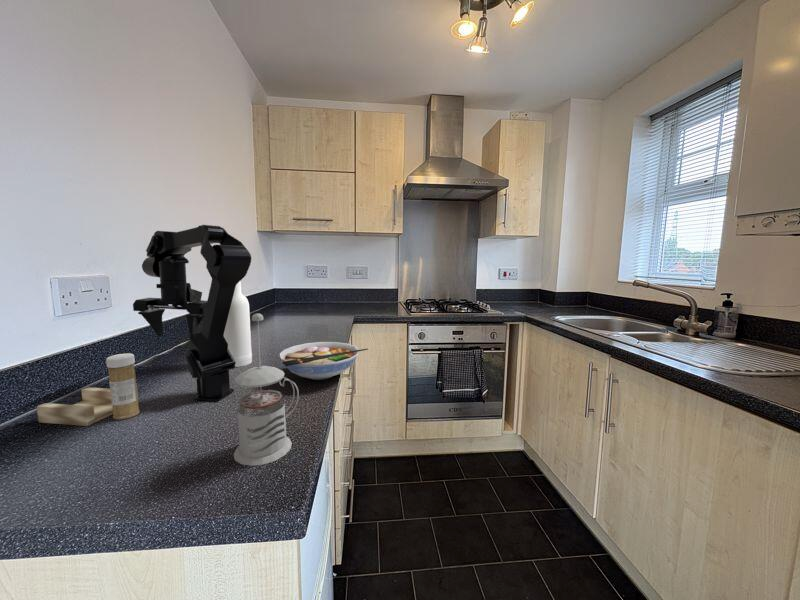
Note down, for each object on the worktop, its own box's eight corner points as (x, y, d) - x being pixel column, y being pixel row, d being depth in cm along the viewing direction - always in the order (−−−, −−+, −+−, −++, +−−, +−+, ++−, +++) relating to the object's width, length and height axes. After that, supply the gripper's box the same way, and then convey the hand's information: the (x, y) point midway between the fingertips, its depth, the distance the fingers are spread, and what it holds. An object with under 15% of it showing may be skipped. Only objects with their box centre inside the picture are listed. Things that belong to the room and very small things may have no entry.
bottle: (251, 365, 103) (246, 272, 99) (223, 368, 100) (217, 272, 97) (252, 358, 111) (248, 271, 107) (226, 361, 108) (221, 271, 104)
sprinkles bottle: (141, 408, 73) (136, 351, 72) (137, 417, 69) (131, 357, 68) (115, 413, 71) (109, 354, 69) (109, 422, 67) (102, 360, 65)
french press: (225, 447, 59) (217, 313, 56) (286, 425, 67) (282, 306, 64) (245, 473, 52) (236, 321, 49) (310, 445, 60) (307, 312, 57)
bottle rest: (133, 404, 76) (131, 390, 75) (87, 426, 66) (85, 409, 65) (89, 401, 77) (88, 387, 76) (38, 422, 67) (36, 406, 67)
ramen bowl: (341, 358, 112) (341, 335, 111) (377, 378, 94) (377, 351, 93) (266, 372, 97) (265, 346, 96) (290, 400, 79) (289, 367, 78)
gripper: (225, 279, 93) (227, 331, 95) (162, 275, 93) (165, 328, 96) (200, 282, 82) (202, 342, 84) (129, 278, 82) (133, 338, 85)
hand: (176, 337), depth 87 cm, fingers open, 9 cm apart
